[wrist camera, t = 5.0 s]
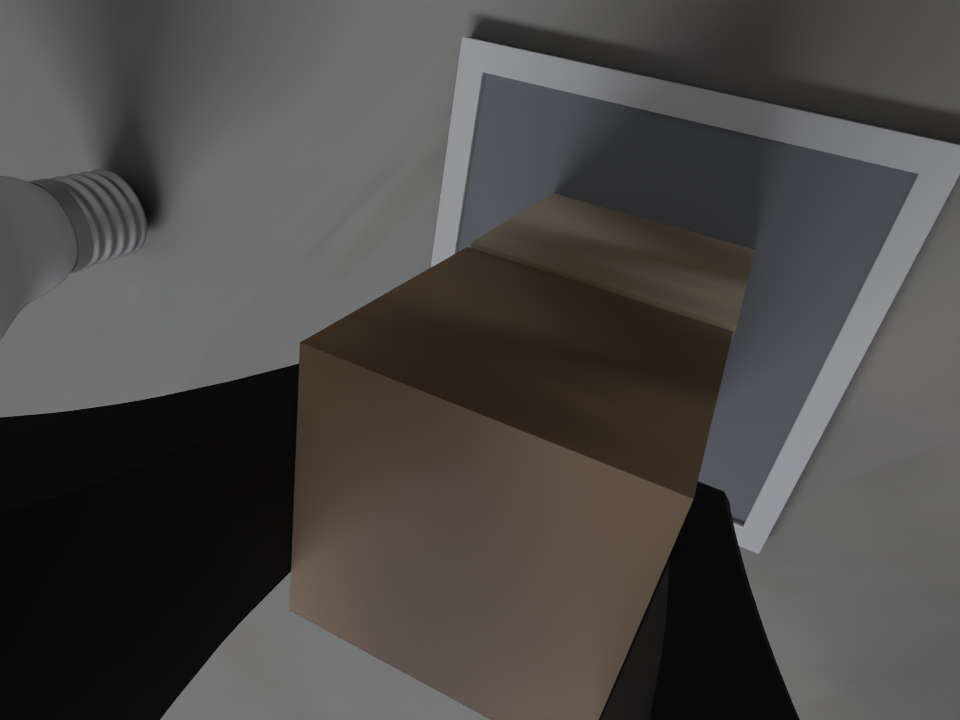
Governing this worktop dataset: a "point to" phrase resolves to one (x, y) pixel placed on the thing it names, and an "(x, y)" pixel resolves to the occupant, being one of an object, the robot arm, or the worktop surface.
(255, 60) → the worktop surface
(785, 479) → the grey square tray
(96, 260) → the lightbulb
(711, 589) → the robot arm
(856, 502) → the worktop surface
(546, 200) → the beech block
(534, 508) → the walnut block
